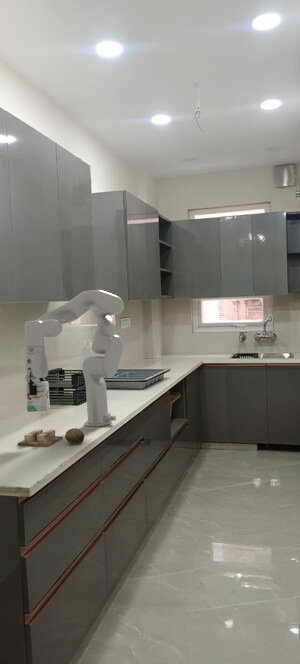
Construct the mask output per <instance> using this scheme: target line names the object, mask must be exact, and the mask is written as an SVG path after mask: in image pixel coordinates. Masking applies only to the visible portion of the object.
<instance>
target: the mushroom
mask: <svg viewBox="0 0 300 664" xmlns="http://www.w3.org/2000/svg"><path fill="white" fill-rule="evenodd" d="M64 437H65V440H66V441H67V442H68V443H70V444H72V445H79V444H82V443H83V442H84V440H85V435H84V432H83V431H82V430H81V429H79V428H76V427H73V428H70V429H68V430H67V431H66V432H65V435H64Z"/></svg>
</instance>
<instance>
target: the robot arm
mask: <svg viewBox="0 0 300 664" xmlns="http://www.w3.org/2000/svg"><path fill="white" fill-rule="evenodd" d="M124 308H125V304H124V301H123V300H122V298H121V297H120V296H117V295H115V294H113V293H111V292H107V291H104V290H101V289H91V290H90V289H89V290H84V291H82V292H80V293H78V294H77V295H76V296H74V297H73V298H71V299H70V300H69V301H68V302H66V303H64V304H62V305H60V306H58V307H56V308H54V309H51V310H50V311H47V312H45V313H44V314H42V315H40V316H39V317H38V318H37V319H36V320H28V321H25V322H24V333H25V334H24V338H25V354H26V355H25V357H26V358H25V376H24V379H25V380H26V382H27V383H28V386H29V394H30V395H37V387H36V385H35V384H36V382H37V381H38V382H39V381H47V378H48V376H49V369H48V367H49V366H48V360H47V359H48V358H47V354H46V351H45V338H56V337H58V336H60V334H62V331H63V325H64V324H67V323H72V322H74V321H77V320H78V319H79V318H80V317H82V316H83V315H85V314H86V313H87V312H88V311H90V310H92V311H93V314H94V316H95V318H96V322H97V326H96V330H95V333H94V336H93V339H92V343H91V351H92V352H93V353H94V354H95V355H96V356H95V355H93V356H88V357H86V358H85V359H84V360H83V361H82V366H81V367H82V369H81V370H82V374H83V379H84V383H85V394H86V396H85V397H86V409H87V410H86V411H87V412H86V413H87V420H86V421H85V422H84V426H86V427H91V428H92V427H93V428H95V427H96V428H97V427H104V426H108V425H111V424H112V422H113V421H114V422H116V421H117V417H116V415H111V412H109V408H108V407H109V405H108V394H107V393H108V391H107V383H106V380H105V379H104V378H113V377H114V376H115V375H117V374H116V373H117V372H118V369H119V366H120V363H121V359H122V356H123V351H124V342H123V339H122V338H121V336H119V335H117V334H115V330H116V324H115V321H114V318H112V316H116V315H120V314H121V313H122V312H123V311H124ZM37 379H38V380H37ZM27 383H26V384H27Z"/></svg>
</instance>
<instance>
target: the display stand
mask: <svg viewBox="0 0 300 664" xmlns="http://www.w3.org/2000/svg"><path fill="white" fill-rule="evenodd" d="M23 437H24V439H22V440H20V441H18V442H17V446H19V447H20V446H22V447H43V448H44V447H47V448H48V447H50V446H52V445H54V444H56V443H57V442H59V441H61V440H63V436H60V435H59V436H58V435H56V430H55V429H49V430H46V431H44V432H43V429H42V428H40V429H35V430H33V431H30V432H29V433H26V434H24V435H23Z"/></svg>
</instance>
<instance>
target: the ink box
mask: <svg viewBox="0 0 300 664" xmlns="http://www.w3.org/2000/svg"><path fill="white" fill-rule="evenodd" d="M49 384H50V383H49V381H47V380H46V381H39V380H38V381H36V384H35V385H36V387H37V395H30V394H29V386H28V383H26V384H25V386H26V387H25V388H26V389H25V391H26V408H27V412H28V413H29V412H30V413H31V412H33V413H34V412H47V411H49V410H50V409H51V403H50V386H49Z"/></svg>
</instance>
